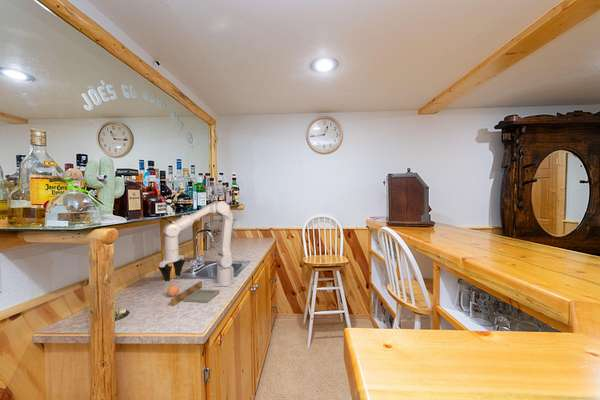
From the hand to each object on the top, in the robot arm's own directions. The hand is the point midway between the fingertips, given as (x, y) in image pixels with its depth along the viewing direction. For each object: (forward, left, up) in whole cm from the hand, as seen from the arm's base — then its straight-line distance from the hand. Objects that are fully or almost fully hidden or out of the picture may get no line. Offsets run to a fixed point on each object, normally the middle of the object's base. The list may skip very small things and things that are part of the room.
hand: (172, 278), depth 117 cm
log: (+22, -11, -9) cm, 26 cm away
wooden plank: (-1, +7, -8) cm, 11 cm away
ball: (0, 0, -6) cm, 6 cm away
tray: (0, +15, -8) cm, 17 cm away
